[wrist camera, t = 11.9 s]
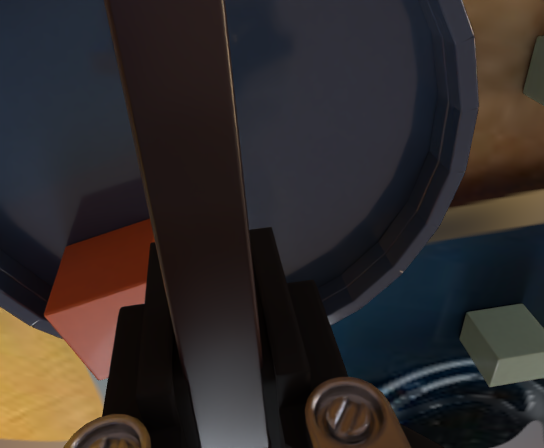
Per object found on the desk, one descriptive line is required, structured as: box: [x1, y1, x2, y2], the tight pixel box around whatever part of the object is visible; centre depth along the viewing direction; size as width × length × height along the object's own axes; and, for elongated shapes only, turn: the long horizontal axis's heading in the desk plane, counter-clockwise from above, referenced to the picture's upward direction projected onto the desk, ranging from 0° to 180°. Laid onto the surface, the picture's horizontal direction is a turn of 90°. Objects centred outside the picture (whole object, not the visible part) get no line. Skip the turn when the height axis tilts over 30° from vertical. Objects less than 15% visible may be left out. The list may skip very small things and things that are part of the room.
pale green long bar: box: [460, 36, 544, 387], centre depth 19 cm, size 15×3×3 cm, turn 2°
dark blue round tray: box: [0, 0, 479, 339], centre depth 15 cm, size 17×17×2 cm
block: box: [44, 219, 155, 380], centre depth 17 cm, size 4×4×4 cm
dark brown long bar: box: [104, 0, 272, 448], centre depth 8 cm, size 20×1×1 cm, turn 2°
